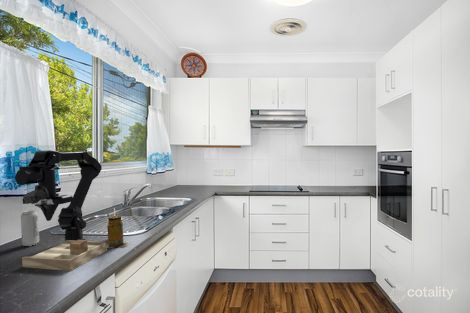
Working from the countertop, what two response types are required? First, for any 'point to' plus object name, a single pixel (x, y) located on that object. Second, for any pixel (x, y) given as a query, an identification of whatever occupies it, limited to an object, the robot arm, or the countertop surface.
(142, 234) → the countertop surface
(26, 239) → the energy drink can
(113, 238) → the condiment
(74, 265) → the box
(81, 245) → the walnut block
